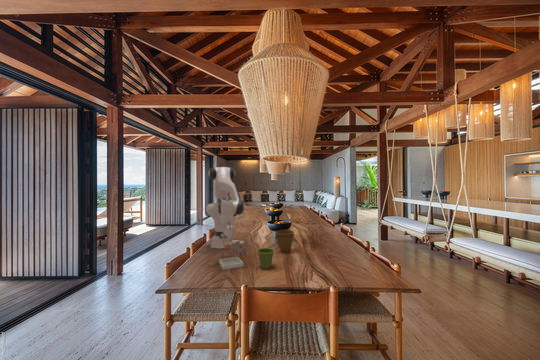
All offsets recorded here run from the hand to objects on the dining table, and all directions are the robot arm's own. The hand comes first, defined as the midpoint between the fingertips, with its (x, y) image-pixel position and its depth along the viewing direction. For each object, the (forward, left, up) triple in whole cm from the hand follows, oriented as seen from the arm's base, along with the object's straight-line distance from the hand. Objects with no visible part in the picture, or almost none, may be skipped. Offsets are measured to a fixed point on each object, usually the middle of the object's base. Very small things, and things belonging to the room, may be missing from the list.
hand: (227, 241), depth 164 cm
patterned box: (-18, +10, -17) cm, 27 cm away
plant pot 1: (+13, +23, -17) cm, 32 cm away
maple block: (0, 0, -2) cm, 2 cm away
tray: (0, +2, -17) cm, 17 cm away
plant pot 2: (-13, +50, -17) cm, 54 cm away
